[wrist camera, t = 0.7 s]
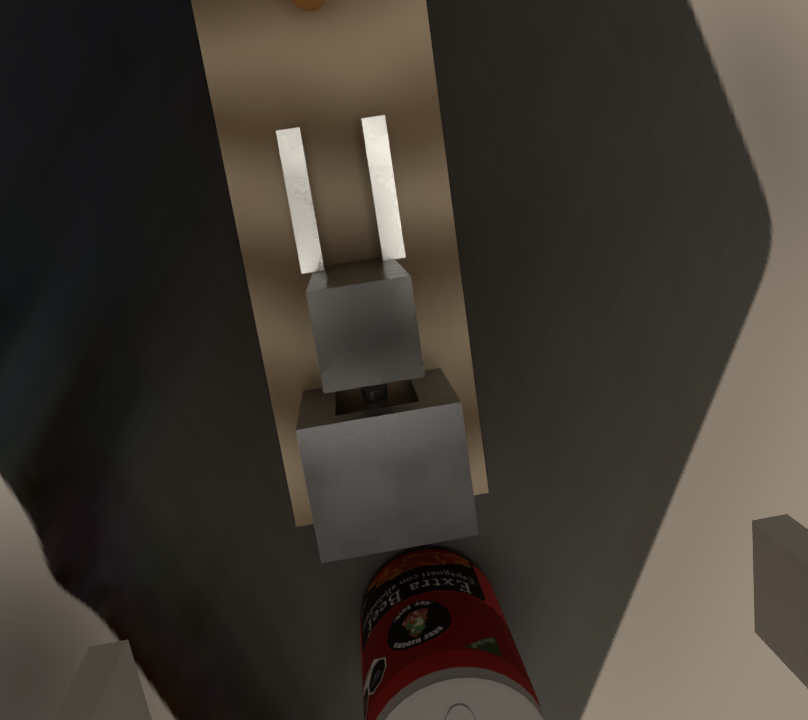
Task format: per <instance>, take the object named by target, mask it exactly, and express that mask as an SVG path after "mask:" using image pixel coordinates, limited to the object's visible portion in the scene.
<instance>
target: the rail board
mask: <svg viewBox="0 0 808 720" xmlns="http://www.w3.org/2000/svg"><path fill="white" fill-rule="evenodd" d="M191 3H192V8H193V13H194V18H195V23H196V28H197V33H198V38H199V43H200V48H201V53H202V58H203V63H204V68H205V73H206V78H207V83H208V88H209V93H210V98H211V103H212V108H213V113H214V118H215V123H216V128H217V133H218V138H219V143H220V148H221V153H222V158H223V163H224V168H225V173H226V178H227V183H228V188H229V193H230V198H231V203H232V208H233V213H234V218H235V223H236V228H237V233H238V238H239V243H240V248H241V253H242V258H243V263H244V268H245V273H246V278H247V283H248V288H249V293H250V298H251V303H252V308H253V313H254V318H255V323H256V328H257V333H258V338H259V343H260V348H261V353H262V358H263V363H264V368H265V373H266V378H267V382H268V387H269V392H270V397H271V402H272V407H273V412H274V417H275V422H276V427H277V432H278V437H279V442H280V447H281V452H282V457H283V462H284V467H285V472H286V477H287V482H288V487H289V492H290V497H291V502H292V507H293V512H294V517H295V522H296V527H298V526H304V525H309V524H314V523H313V517H312V512H311V507H310V502H309V497H308V492H307V486H306V481H305V476H304V471H303V466H302V461H301V455H300V450H299V445H298V440H297V435H296V425H297V420H298V415H299V409H300V404H301V399H302V393H303V391H304V390H310V389H316V388H322V387H323V385H322V380H321V374H320V369H319V363H318V358H317V352H316V347H315V341H314V336H313V330H312V325H311V319H310V314H309V308H308V302H307V297H306V290H307V287H308V284H309V282H310V279H311V276H312V273H313V272H310V273H304V274H302V273H301V268H300V262H299V257H298V251H297V246H296V240H295V235H294V229H293V224H292V218H291V213H290V207H289V202H288V196H287V191H286V185H285V180H284V174H283V168H282V163H281V157H280V152H279V146H278V141H277V135H276V131H277V130H284V129H291V128H298V127H300V129H301V131H302V135H303V141H304V146H305V152H306V158H307V164H308V170H309V175H310V181H311V187H312V193H313V198H314V204H315V210H316V216H317V222H318V227H319V233H320V239H321V245H322V251H323V256H324V262H325V266H330V265H336V264H342V263H349V262H355V261H362V260H368V259H374V258H380V251H379V245H378V238H377V232H376V225H375V219H374V212H373V206H372V199H371V193H370V186H369V180H368V173H367V167H366V160H365V154H364V147H363V141H362V134H361V128H360V121H361V118H367V117H374V116H381V115H385V119H386V126H387V133H388V140H389V147H390V153H391V160H392V167H393V174H394V181H395V188H396V195H397V202H398V209H399V215H400V222H401V229H402V236H403V243H404V250H405V257H406V258H399V259H395V260H396V261H397V262H398V263H399V264H400V265H401V266H402V267H403V268H404V269H405V270H406V271H407V272H408V273H409V274H410V275H411V282H412V289H413V296H414V302H415V309H416V316H417V323H418V330H419V337H420V344H421V351H422V358H423V365H424V371H425V370H431V369H437V368H441V370H442V372H443V373H444V375H445V376H446V378H447V380H448V381H449V383H450V384H451V386H452V388H453V389H454V391H455V393H456V394H457V396H458V397H459V399H460V401H461V403H462V411H463V418H464V426H465V433H466V441H467V448H468V456H469V463H470V471H471V478H472V486H473V493H474V495H479V494H484V493H489V491H488V484H487V476H486V468H485V460H484V452H483V444H482V436H481V429H480V421H479V413H478V405H477V397H476V389H475V382H474V374H473V366H472V358H471V350H470V342H469V334H468V327H467V319H466V311H465V303H464V295H463V287H462V279H461V272H460V264H459V256H458V248H457V240H456V232H455V224H454V217H453V209H452V201H451V193H450V185H449V177H448V169H447V162H446V154H445V146H444V138H443V130H442V122H441V114H440V107H439V99H438V91H437V83H436V75H435V67H434V59H433V52H432V44H431V36H430V28H429V20H428V12H427V4H426V0H325V2H324V4H323V5H322V6H321V7H320V8H319V9H317V10H314V11H305V10H302V9H300V8H299V7H298V6H296V5H295V3H294V2H293V0H191ZM386 385H387V392H388V400H387V402H386V404H385V405H384V406H383V407H381V408H385V407H391V406H397V405H403V404H409V403H413V402H412V395H411V388H410V382H409V379H408V380H402V381H396V382H390V383H386ZM337 396H338V402H339V408H340V413H341V415H344V414H350V413H356V412H362V411H368V410H374V409H371V408H369V407H367V406H366V405H365V404H364V402H363V399H362V394H361V388H354V389H348V390H342V391H337Z"/></svg>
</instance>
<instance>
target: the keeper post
mask: <svg viewBox="0 0 808 720" xmlns="http://www.w3.org/2000/svg"><path fill="white" fill-rule="evenodd" d="M293 2H294V3H295V5H296V6H298V7H299V8H300V9H302V10H305V11H314V10H317V9H319V8H320V7H321V6H322V5H323V4H324V2H325V0H293Z"/></svg>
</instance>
